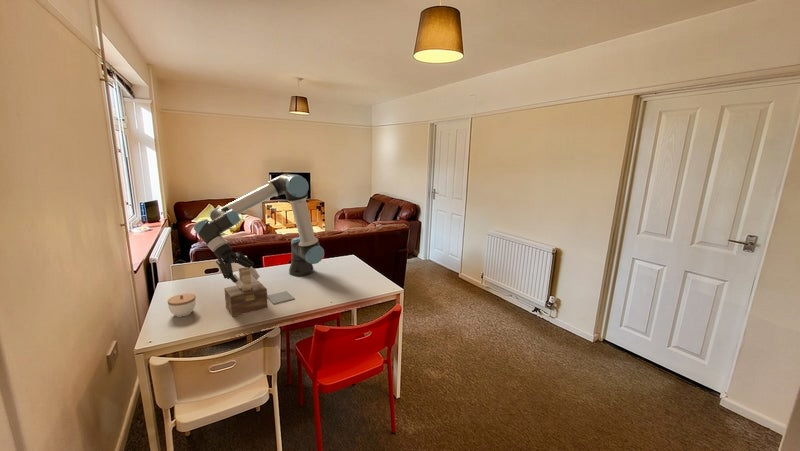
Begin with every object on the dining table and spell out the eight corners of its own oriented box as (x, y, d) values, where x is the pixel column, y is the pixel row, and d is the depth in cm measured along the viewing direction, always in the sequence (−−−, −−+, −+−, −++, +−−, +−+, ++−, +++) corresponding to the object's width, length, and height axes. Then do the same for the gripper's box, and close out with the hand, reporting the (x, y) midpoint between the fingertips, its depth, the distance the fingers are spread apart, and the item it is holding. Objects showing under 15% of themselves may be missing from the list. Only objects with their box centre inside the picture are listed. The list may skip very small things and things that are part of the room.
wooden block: (240, 295, 158) (238, 268, 155) (249, 293, 160) (247, 267, 157) (242, 298, 155) (241, 271, 152) (251, 296, 157) (250, 269, 154)
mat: (266, 296, 171) (266, 295, 171) (286, 292, 178) (286, 291, 178) (273, 304, 163) (273, 303, 163) (294, 299, 170) (294, 298, 170)
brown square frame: (225, 307, 158) (224, 288, 156) (259, 298, 168) (258, 281, 166) (232, 317, 149) (231, 297, 147) (267, 308, 159) (267, 289, 157)
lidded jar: (194, 306, 157) (192, 288, 155) (198, 314, 150) (197, 296, 148) (167, 312, 150) (165, 293, 148) (170, 321, 143) (168, 302, 141)
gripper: (233, 246, 167) (261, 278, 167) (196, 259, 145) (228, 296, 145) (241, 237, 165) (269, 269, 165) (205, 249, 143) (237, 286, 143)
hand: (250, 282), depth 155 cm, fingers open, 11 cm apart
